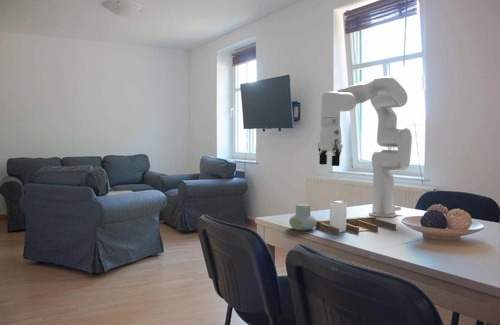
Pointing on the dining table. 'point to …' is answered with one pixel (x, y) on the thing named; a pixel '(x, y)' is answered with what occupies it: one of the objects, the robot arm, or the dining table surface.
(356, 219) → the notch rack
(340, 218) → the can
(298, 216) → the air freshener
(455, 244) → the dining table surface
